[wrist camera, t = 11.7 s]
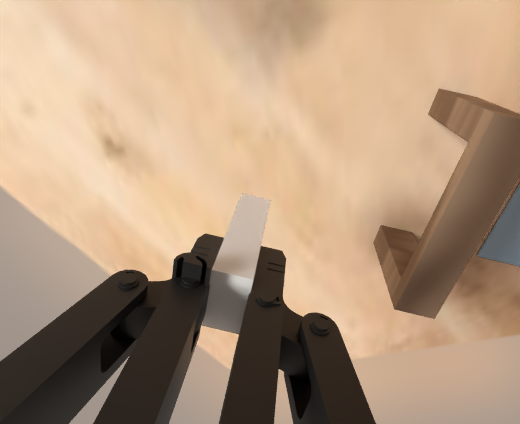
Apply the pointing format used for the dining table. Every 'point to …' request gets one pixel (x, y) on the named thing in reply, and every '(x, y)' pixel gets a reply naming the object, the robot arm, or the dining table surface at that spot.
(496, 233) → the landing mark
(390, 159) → the dining table surface
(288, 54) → the dining table surface
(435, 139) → the dining table surface
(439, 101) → the bridge
